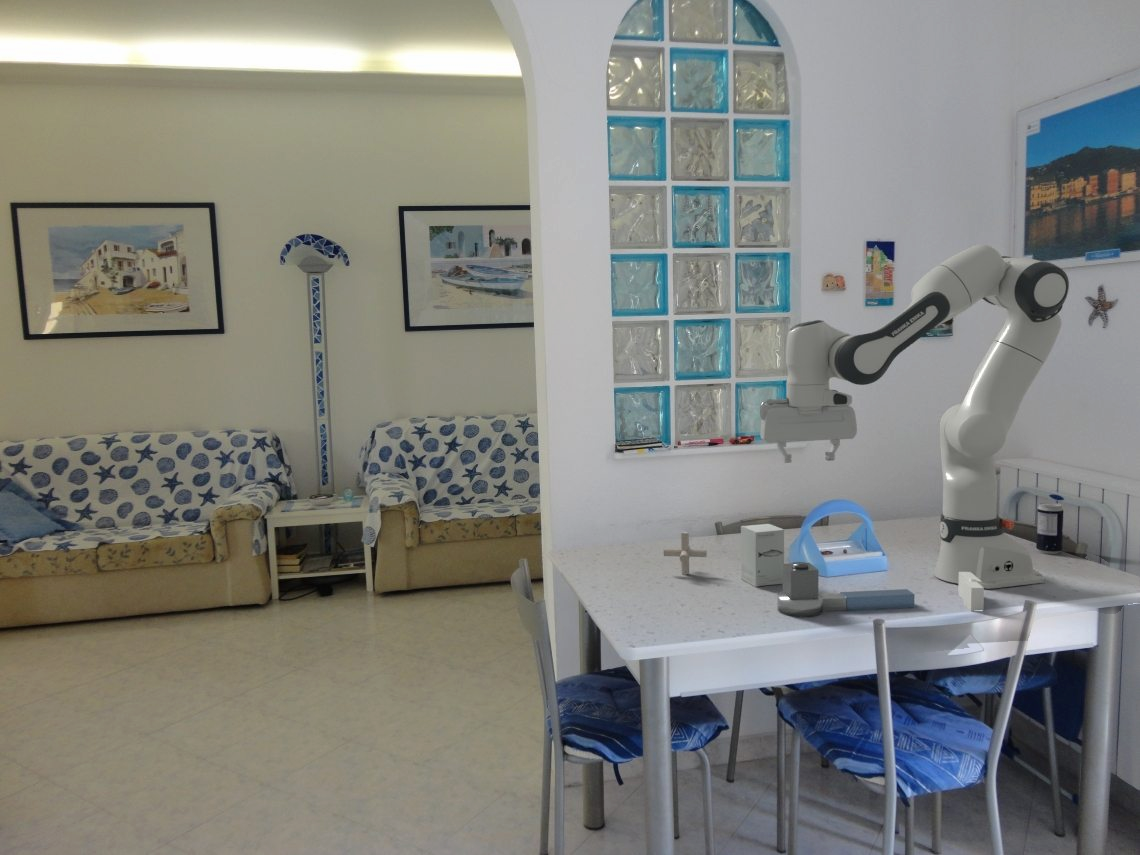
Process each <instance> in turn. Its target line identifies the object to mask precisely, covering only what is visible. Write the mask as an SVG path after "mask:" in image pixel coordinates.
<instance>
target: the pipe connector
mask: <svg viewBox="0 0 1140 855" xmlns="http://www.w3.org/2000/svg"><path fill="white" fill-rule="evenodd" d="M689 533H690V532H689V531H681V532H680V548H663V556H664V557H679V561H680V563H681V566H680V567H681V575H682V574H683V575H684V576H688V575H690V558H691V557H692V558H707V556H708V555H707V549H701V548H699V549H698V548H696V549H695V548H694V549H693V548H692V549H691V546H690V544H689V542H690V537H689V536H690V535H689ZM687 574H688V575H687ZM683 575H682V576H683Z"/></svg>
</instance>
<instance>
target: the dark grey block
mask: <svg viewBox="0 0 1140 855" xmlns="http://www.w3.org/2000/svg"><path fill="white" fill-rule="evenodd" d="M782 591H783V593H784V594H785V595H786V596H787V597H788V598H789V599H790V600H810V599H818V593H819V569H818V568H816V567H815V565H813V564H811V562H804V561H796V562H792V563H784V564H783V584H782Z"/></svg>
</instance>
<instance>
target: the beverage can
mask: <svg viewBox="0 0 1140 855" xmlns="http://www.w3.org/2000/svg"><path fill="white" fill-rule="evenodd" d="M1038 505H1039V506H1038V507H1037V509H1036V538H1035V539H1036V542H1035V547H1036V549H1037V550H1038V551H1039V552H1040V553H1042V554H1047V555H1057V554H1059V553H1060V552H1061V551H1062V550H1063V537H1064V536H1063V535H1064V534H1063V533H1064V509H1063V506H1062V504H1061V503H1058V502H1057V503H1056V502H1040V503H1039V504H1038Z"/></svg>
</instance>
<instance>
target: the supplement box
mask: <svg viewBox="0 0 1140 855" xmlns="http://www.w3.org/2000/svg"><path fill="white" fill-rule="evenodd" d="M783 564H785V529H784V528H781V527H779V526H776V525H774V524H770V523H764V524H751V525H749V524H748V525H741V526H740V579H741V580H743V581H744V582H745V583H748V584H749V585H751V586H753V587H755V588H758V587H762V586H771V585H772V586H773V585H783Z"/></svg>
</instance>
